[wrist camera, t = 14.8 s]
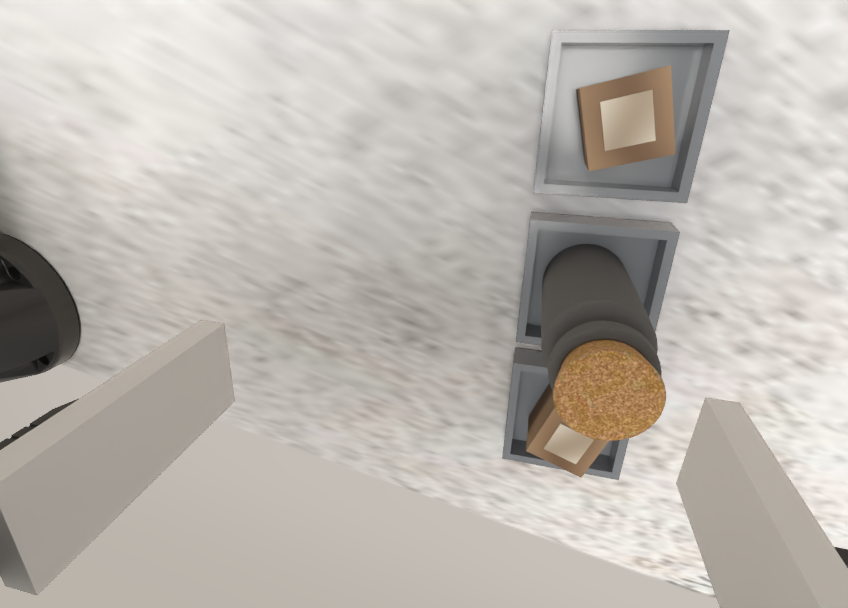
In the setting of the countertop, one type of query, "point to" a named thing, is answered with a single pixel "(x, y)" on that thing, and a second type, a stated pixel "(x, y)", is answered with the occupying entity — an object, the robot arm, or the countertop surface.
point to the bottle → (599, 346)
